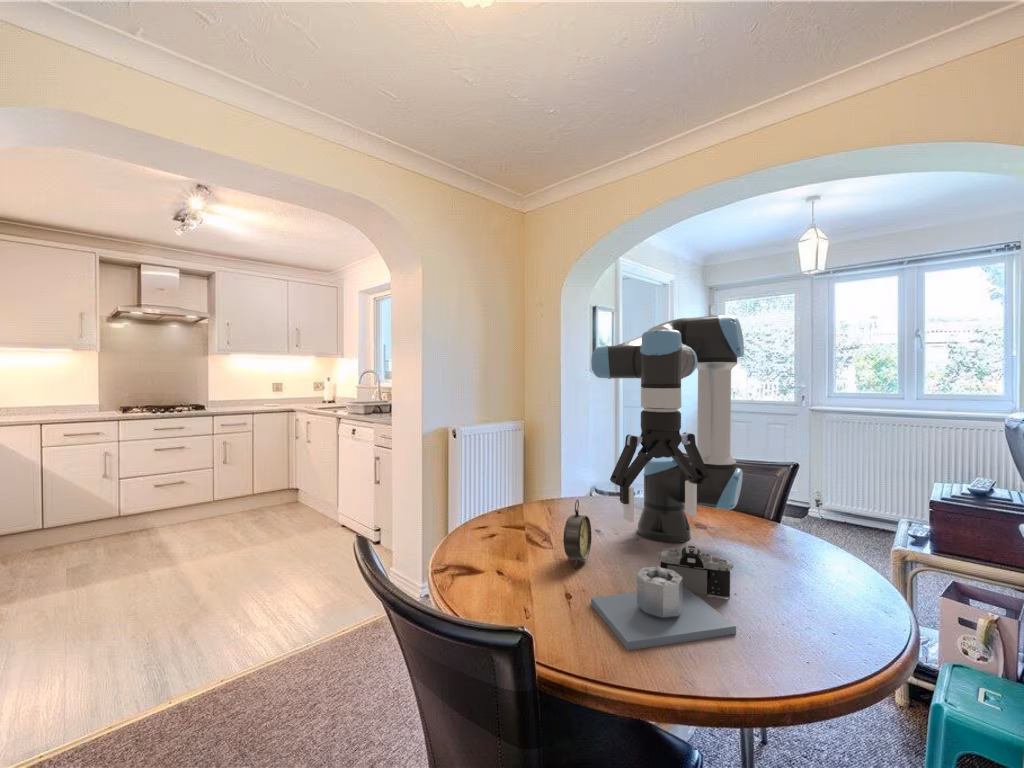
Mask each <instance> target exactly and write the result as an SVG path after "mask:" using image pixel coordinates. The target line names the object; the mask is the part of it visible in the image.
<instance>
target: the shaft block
mask: <svg viewBox="0 0 1024 768" xmlns="http://www.w3.org/2000/svg"><path fill="white" fill-rule="evenodd" d="M652 580H657V581H661V582H664V581H667V580H666V579H664V578H659V577H655V578H652ZM590 605H591V607H593V609H594V610H595V611H596V612H597V614H598V615H599V617H600V618H601V619H602V621H604V623H605V624H606V625H607V627H609V629H610V630H611V631H612V633H613V634H614V635H615V637H616V638H617V639H618V640H619V642H620V643H621V645H622V646H624V648H625V649H626V651H632V650H633V651H634V650H639V649H645V648H646V649H647V648H652V647H653V648H654V647H658V646H659V647H660V646H666V645H672V644H678V643H679V644H680V643H687V642H692V641H700V640H705V639H706V638H707V639H713V638H718V636H720V637H725V636H724V635H726V636H731V635H730V634H733V635H736V634H737V625H736V624H734V623H733V622H732V621H730V620H729V619H728V618H727V617H726V616H724V615H722V614H721V613H720V612H719V611H718V610H716V609H715V608H713V606H711V605H709V604H708V603H707V602H705V600H704V599H701V598H700V596H699V595H695V594H694V593H692V592H691V591H690V590H688V589H687V588H686V587H685V586H683V603H682V610H681V612H680V614H679V616H671V617H664V618H663V617H659V616H656V615H652V614H648V613H645V612H644V611H643V610H642V609H641V608H640V607H639V606H638V605H637V591H635V592H625V593H617V594H609V595H602V596H593V597H591V598H590ZM712 637H713V638H712Z"/></svg>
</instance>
